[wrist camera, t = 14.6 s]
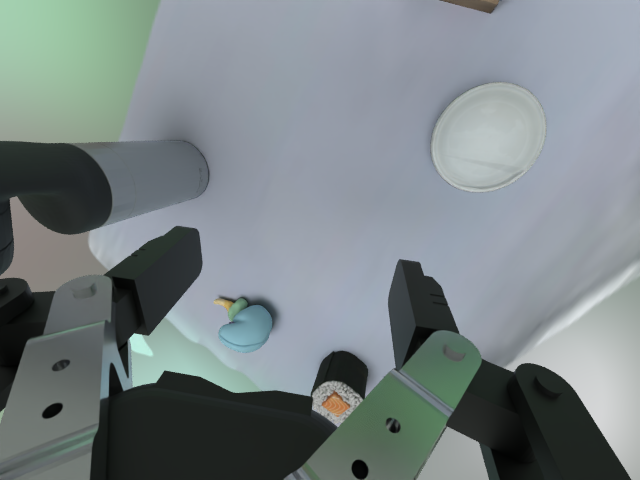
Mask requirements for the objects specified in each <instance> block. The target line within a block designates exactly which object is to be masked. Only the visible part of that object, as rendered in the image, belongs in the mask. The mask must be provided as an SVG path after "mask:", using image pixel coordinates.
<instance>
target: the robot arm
mask: <svg viewBox="0 0 640 480" xmlns="http://www.w3.org/2000/svg"><path fill="white" fill-rule="evenodd" d="M207 183H208V168H207V164H206V161H205V160H204V158H203V156H202V154H201V153H200V152H199V151H198V150H197V149H196V148H195V147H194V146H193V145H191V144H189V143H187V142H184V141H134V142H94V143H32V142H16V141H0V275H1V274H3V273H4V272H5V271H6V270H7V269H8V267H9V266H10V264H11V262H12V259H13V253H14V238H13V229H12V220H11V210H10V198H11V197H15V196H17V197H18V198H19V200H20V201H21V203H22V204H23V206H24V207H25V208H26V210H27V211H28V212H29V213H30V214H31V215H32V216H33V217H34V218H35V219H36V220H37V221H38V222H39V223H41V224H42V225H44V226H45V227H47V228H48V229H50V230H52V231H55V232H58V233H61V234H68V235H71V234H79V233H83V232H87V231H90V230H93V229H96V228H100V227H103V226H106V225H109V224H113V223H116V222H119V221H122V220H125V219H128V218H132V217H135V216H138V215H141V214H145V213H148V212H151V211H154V210H158V209H161V208H164V207H167V206H171V205H174V204H177V203H181V202H184V201H187V200H190V199H193V198H196V197H198V196H199V195H201V194H202V193H203V192H204V190H205V188H206V186H207ZM201 269H202V254H201V245H200V236H199V232H198V230H197V229H195V228H189V227H182V226H176V227H174V228H173V229H172V230H170V231H169V232H168V233H166V234H165V235H164V236H160V237H158V238H155V239H153V240H151V241H148V242H147V243H146V244H144V245H143V246H142V247H140V248H139V250H136V251H135V252H134V253H132V254H131V256H128V257H127V258H126V259H124V260H123V261H122V262H120V263H119V264H118V265H116V266H115V267H114V268H112V269H111V270H110V271H108V272H107V273H106V274H104V275H88V276H83V277H79V278H76V279H73V280H71V281H68V282H67V283H65V284H63V285H62V286H60V287H59V288H58V289H57V290H56V291H50V292H31V290H30V287H29V285H28V283H27V282H26V281H25V280H23V279H20V278H5V279H0V412H1V411H2V410H3V409H4V408H5V410H4V413H3V417H2V420H1V423H0V480H416V479H417V478H418V476H419V474H420V473H421V471H422V469H423V467H424V466H425V464H426V462H427V460H428V459H429V457H430V455H431V453H432V452H433V450H434V448H435V447H436V445H437V443H438V441H439V440H440V438H441V436H442V434H443V433H444V431H445V429H446V427H447V426H448V427H450V428H452V429H454V430H456V431H458V432H460V433H462V434H464V435H466V436H468V437H470V438H472V439H474V440H476V441H478V442H479V444H480V448H481V451H482V455H483V459H484V462H485V466H486V469H487V473H488V477H489V480H631V479H630V477H629V475H628V474H627V472H626V470H625V469H624V467H623V466H622V464H621V462H620V461H619V459H618V458H617V456H616V455H615V453H614V451H613V450H612V448H611V447H610V446H609V444H608V442H607V440H606V439H605V437H604V436H603V434H602V433H601V431H600V429H599V428H598V427H597V425H596V423H595V422H594V420H593V418H592V417H591V415H590V414H589V412H588V410H587V409H586V407H585V406H584V404H583V403H582V401H581V399H580V398H579V396H578V395H577V393H576V392H575V390H574V389H573V388H572V387H571V386H570V385H569V384H568V383H567V382H566V381H565V380H564V379H563V378H562V377H560V376H559V375H557V374H556V373H554V372H552V371H551V370H549V369H547V368H545V367H542V366H539V365H536V364H531V363H525V364H521V365H519V366H518V367H517V369H516V370H515V372H511V371H509V370H506V369H504V368H502V367H499V366H497V365H494V364H492V363H490V362H487V361H485V360H484V359H482V358H481V355H480V352H479V350H478V349H477V348H476V346H475V345H474V344H473V343H472V342H471V341H469V340H468V339H467V338H465V337H464V336H462V335H460V334H459V331H458V328H457V326H456V323H455V321H454V318H453V316H452V313H451V311H450V308H449V306H448V303H447V301H446V298H444V297H445V296H444V293H443V291H442V288H441V286H440V285H439V284H438V283H437V282H436V281H435V280H434V279H433V278H432V277H429V276H424V274H423V271H422V268H421V265H420V263H419V262H415V261H409V260H402V259H399V261H398V263H397V266H396V270H395V273H394V277H393V281H392V284H391V288H390V292H389V298H388V309H389V317H390V325H391V333H392V341H393V349H394V357H395V365H396V368H394V369H392V370H391V371H390V372H389V373H388V374H387V375H386V376H385V377H384V378H383V379H382V380H381V381H380V382H379V383H378V385H377V386H376V387H375V388H374V389H373V390H372V391H371V392H370V393H369V394H368V395H367V397H366V398H365V399H364V400H363V401H362V402H361V403H360V404H359V405H358V406H357V407H356V408H355V410H354V411H353V412H352V413H351V414H350V415H349V416H348V417H347V418H346V419H345V420H344V421H343V423H342V424H341V425H340V426H339V427H337V426H336V425H334V424H333V423H332V422H331V421H330V420H328V419H327V418H326V417H324V416H323V415H321V414H319V413H317V412H315V411H313V410H312V404H313V397H310V396H304V395H299V394H293V393H287V392H282V391H276V390H275V391H261V392H246V393H233V392H230V391H228V390H226V389H224V388H222V387H220V386H218V385H216V384H214V383H212V382H210V381H208V380H206V379H203V378H201V377H198V376H192V375H187V374H181V373H175V372H170V371H164V372H163V374H162V375H161V377H160V378H159V380H158V381H157V382H156V383H151V384H146V385H141V386H137V387H132V362H131V344H130V340H129V338H130V337H131V336H132V335H133V334H134V333H136V334H142V335H150V334H151V332H152V331H153V330H154V329H155V327H156V326H157V325H158V324H159V323H160V322H161V320H162V319H163V318H164V317H165V316H166V314H167V313H168V312H169V311H170V310H171V308H172V307H173V306H174V305H175V304H176V302H177V301H178V300H179V299H180V298H181V297H182V295H183V294H184V293H185V292H186V291H187V289H188V288H189V287H190V286H191V285H192V283H193V282H194V281H195V280H196V279H197V277H198V276H199V274H200V272H201Z"/></svg>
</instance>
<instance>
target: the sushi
mask: <svg viewBox="0 0 640 480" xmlns="http://www.w3.org/2000/svg"><path fill="white" fill-rule="evenodd" d="M367 376H368V369H367V367H366V365H365V364H364V363H363V362H362V361H361V360H359V359H358V358H357V357H356V356H355V355H353V354H351V353H349V352H345V351H338V352H335V353H334V352H332V353H331V354H330V355H328V356H327V357H326V358H325V359H324V360H323V361H322V363H321V365H320V368H319V371H318V374H317V377H316V380H315V383H314V386H313V389H312V392H311V397H313V406H314V410H316V409H317V412H320V411H321V412H320V413H319V414H321V415H323V416H324V417H326V418H327V419H328V420H330V421H332V420H334V424H337V423H338V422H340V423H343V421H344V420H345V419H346V418H347V417H348V416H349V415H350V414H351V413H352V412H353V411H354V410H355V408H356V407H357V406H358V405H359V404H360V403H361V402H362V401H363V400H364V399H365V390H366V383H367Z"/></svg>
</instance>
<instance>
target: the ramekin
mask: <svg viewBox="0 0 640 480" xmlns="http://www.w3.org/2000/svg"><path fill="white" fill-rule="evenodd" d="M545 137H546V118H545V114H544V110H543V108H542V106H541V104H540V102H539V101H538V100H537V98H536V97H535V96H534V95H533V94H532V93H531V92H530V91H529V90H527V89H525V88H523V87H521V86H519V85H515V84H511V83H507V82H494V83H487V84H483V85H480V86H477V87H475V88H472V89H470V90H468V91H467V92H465V93H463V94H462V95H460V96H459V97H457V98H456V99H455V100H454V101H453V102H451V103H450V104H449V105H448V106H447V108H446V109H445V110H444V111H443V113H442V114H441V116H440V117H439V119H438V121H437V123H436V125H435V127H434V130H433V133H432V137H431V146H430V149H431V158H432V162H433V164H434V167H435V169H436V170H437V172H438V173H439V175H440V176H441V177H442V178H443V179H444V180H445V181H446V182H447V183H448V184H450V185H451V186H453V187H455V188H457V189H460V190H463V191H468V192H477V193H481V192H489V191H494V190H497V189H500V188H503V187H505V186H507V185H509V184H511V183H513V182H515V181H516V180H517V179H519V178H520V177H521V176H523V175H524V174H525V173H526V172H527V171H528V170H529V169H530V168H531V166H532V165H533V164H534V162H535V161H536V159H537V158H538V156H539V154H540V153H541V150H542V148H543V145H544V142H545Z"/></svg>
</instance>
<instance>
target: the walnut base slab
mask: <svg viewBox="0 0 640 480" xmlns="http://www.w3.org/2000/svg"><path fill="white" fill-rule="evenodd" d="M441 1H445V2H449V3H452V4H456V5H460V6H464V7H467V8H471V9H475V10H479V11H483V12H486V13H490V14H491V12H492V11H493V10H494V8H495V7H496V6H497V4H498V2H499V0H441Z"/></svg>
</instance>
